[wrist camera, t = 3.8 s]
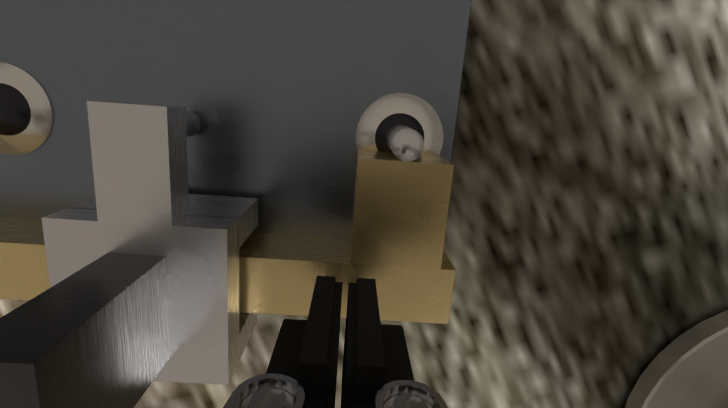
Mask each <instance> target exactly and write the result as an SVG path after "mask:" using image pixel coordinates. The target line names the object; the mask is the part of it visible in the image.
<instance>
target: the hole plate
mask: <svg viewBox="0 0 728 408" xmlns="http://www.w3.org/2000/svg"><path fill="white" fill-rule="evenodd" d="M470 6H471V0H0V217H16V218H31V219H42V217H45V216H48V215H50V214H53V213H56V212H58V211H61V210H64V209H66V208H69V207H72V206H75V205H77V204H80V203H83V202H85V201H88V200H91V199H94V198H96V197H95V186H94V175H93V164H92V153H91V142H90V132H89V121H88V110H87V101H122V102H135V103H149V104H162V105H176V106H186V111H191V112H193V113H195V114H196V115H197V116H198V117H199V119H200V122H201V128H200V131H199V132H198V133H197V134H196V135H194V136H192V137H187V158H188V188H189V194H200V195H215V196H230V197H245V198H258V225H257V227H256V228H255V229H254V230H253V233H268V234H284V235H300V236H316V237H332V238H347V239H351V237H352V223H353V208H354V194H355V180H356V165H357V151H358V149H362V150H376V151H388V152H392V151H391V149H390V148H389V147H388V145H387V142H386V135H387V133H388V131H389V129H390V128H392V127H393V126H395V125H405V126H407V127H409V128H411V129H413V130H415V131H417V132H418V133H419V134H420V135H421V136H422V138H423V140H424V149H423V152H422V154H432V155H439V156H441V157H443V158H444V159H446V160H447V161H449V162H450V163H451V156H452V148H453V140H454V132H455V125H456V117H457V109H458V101H459V93H460V85H461V77H462V69H463V62H464V54H465V46H466V38H467V30H468V22H469V14H470Z"/></svg>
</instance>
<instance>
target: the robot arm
mask: <svg viewBox="0 0 728 408" xmlns="http://www.w3.org/2000/svg"><path fill="white" fill-rule="evenodd" d="M335 281H336V277H334V276H317V277H316V281H315V286H314V291H313V295H312V300H311V305H310V309H309V314H308V319H307V320H290V319H284V321H283V323H282V326H281V329H280V332H279V335H278V338H277V341H276V345H275V348H274V351H273V354H272V357H271V360H270V363H269V366H268V369H267V372H266V374H263V375H258V376H255V377H252V378H250V379H248V380H246V381H245V382H243V383H241V384H240V385H239V386H238V387H237V388H236V389H235V391H234V392H233V393H232V395H231V396H230V398H229V399H228V401H227V403H226V404H225V406H224V407H223V408H335V393H336V378H337V363H338V347H339V332H340V316H341V301H342V285H343V282H335ZM341 408H448V407H447V405H446V403H445V401H444V400H443V398H442V397H441V396H440V394H439V393H437V392H436V391H435V390H434V389H433V388H431V387H429V386H427V385H425V384H423V383H420V382H416V381H414V378H413V373H412V369H411V364H410V359H409V355H408V350H407V345H406V341H405V336H404V331H403V327H402V326H401V325H382V324H381V323H380V315H379V306H378V298H377V289H376V281H375V279H368V278H356V283H350V282H349V286H348V300H347V314H346V328H345V342H344V357H343V372H342V393H341ZM625 408H728V310H726V311H724V312H722V313H719V314H717V315H715V316H713V317H711V318H708V319H706V320H704V321H702V322H700V323H698V324H697V325H695V326H694V327H692V328H691V329H689V330H688V331H686V332H685V333H683V334H681V335H680V336H678V337H677V338H676V339H675V340H674V341H672V342H671V343H670V344H669V345H668V346H667V347H666V348H665V349H663V350H662V351H661V352H660V353H659V354H658V355H657V356H656V357H655V358H654V360H653V361H652V362H651V363H650V364H649V366H648V367H647V368H646V369H645V371H644V372H643V373H642V374H641V376H640V377H639V379H638V381H637V383H636V384H635V386H634V388H633V390H632V392H631V393H630V395H629V397H628V400H627V403H626V406H625Z"/></svg>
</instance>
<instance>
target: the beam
mask: <svg viewBox="0 0 728 408" xmlns="http://www.w3.org/2000/svg"><path fill="white" fill-rule="evenodd" d="M386 142H387V145H388V147H389V148H390V149H391V151H392V152H388V151H376V150H362V149H358V151H357V165H356V180H355V194H354V208H353V223H352V237H351V239H347V238H332V237H316V236H300V235H284V234H268V233H253V232H252V233H251V234H250V235H249V237H248V238H247V239H246V240H245V242H244V243H243V244H242V245H241V247H240V248H239V312H245V313H263V314H280V315H298V316H308V314H309V309H310V305H311V300H312V295H313V291H314V286H315V281H316V277H317V276H334V277H336V281H335V282H343V285H342V301H341V316H340V318H346V314H347V300H348V286H349V282H350V283H356V278H368V279H375V281H376V289H377V298H378V306H379V315H380V320H388V321H405V322H423V323H441V324H448V321H449V314H450V306H451V299H452V292H453V285H454V278H455V268H454V267H453V265H452V263H451V262H450V260H449V258H448V257H447V255H446V253H445V251H444V250H443V247H444V239H445V232H446V224H447V216H448V208H449V201H450V193H451V185H452V178H453V170H454V165H453V164H452V163H450V162H449V161H447V160H446V159H444V158H443V157H441V156H439V155H432V154H422V152H423V149H424V140H423V138H422V136H421V135H420V134H419V133H418V132H417V131H415V130H413V129H411V128H409V127H407V126H405V125H395V126H393V127H392V128H390V129H389V131H388V133H387V135H386ZM49 288H50V281H49V273H48V266H47V258H46V250H45V242H44V234H43V226H42V219H31V218H16V217H0V299H13V300H31V299H33V298H34V297H36V296H38V295H39V294H41V293H42V292H44V291H46V290H47V289H49Z"/></svg>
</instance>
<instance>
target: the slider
mask: <svg viewBox="0 0 728 408" xmlns="http://www.w3.org/2000/svg"><path fill="white" fill-rule="evenodd" d="M87 110H88V121H89V132H90V142H91V153H92V164H93V175H94V186H95V197H96V198H94V199H91V200H88V201H85V202H83V203H80V204H77V205H75V206H72V207H69V208H66V209H64V210H61V211H58V212H56V213H53V214H50V215H48V216H45V217H42V226H43V234H44V242H45V250H46V258H47V266H48V273H49V281H50V288H49V289H47V290H46V291H44V292H42V293H41V294H39V295H38V296H36V297H34V298H33V299H31V300H29V301H28V302H26V303H24V304H23V305H21V306H20V307H18V308H16V309H15V310H13V311H11V312H10V313H8V314H6V315H5V316H3V317H1V318H0V408H134V406H135V405H136V404H137V402H138V401H139V399H140V398H141V397H142V395H143V394H144V393H145V391H146V390H147V388H148V387H149V386H150V384H151V383H152V382H153V381H167V382H187V383H207V384H227V385H229V382H230V380H231V378H232V376H233V374H234V371H235V369H236V367H237V365H238V362H239V360H240V358H241V356H242V354H243V351H244V349H245V347H246V345H247V342H248V340H249V338H250V336H251V334H252V331H253V329H254V327H255V325H256V322H257V313H245V312H239V248H240V247H241V245H242V244H243V243H244V242H245V240H246V239H247V238H248V237H249V235H250V234H251V233H252V232H253V230H254V229H255V228H256V227H257V225H258V198H245V197H230V196H215V195H200V194H189V188H188V158H187V137H192V136H194V135H196V134H197V133H198V132H199V131H200V128H201V122H200V119H199V117H198V116H197V115H196V114H195V113H193V112H191V111H186V106H176V105H162V104H149V103H135V102H122V101H87Z"/></svg>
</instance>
